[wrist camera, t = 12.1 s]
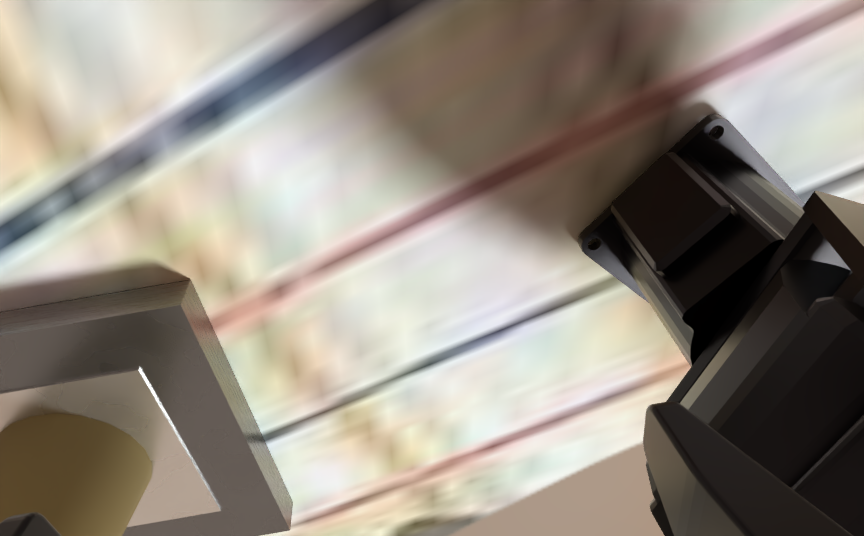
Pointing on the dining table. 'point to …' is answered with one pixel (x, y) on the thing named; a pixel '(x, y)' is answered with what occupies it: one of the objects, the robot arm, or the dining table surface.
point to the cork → (72, 473)
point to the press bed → (150, 404)
